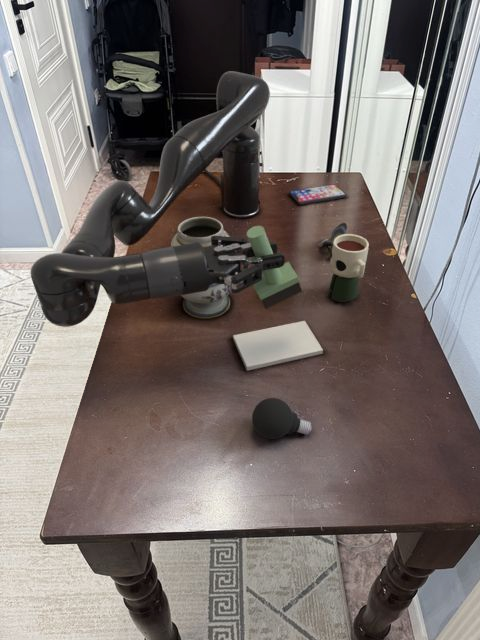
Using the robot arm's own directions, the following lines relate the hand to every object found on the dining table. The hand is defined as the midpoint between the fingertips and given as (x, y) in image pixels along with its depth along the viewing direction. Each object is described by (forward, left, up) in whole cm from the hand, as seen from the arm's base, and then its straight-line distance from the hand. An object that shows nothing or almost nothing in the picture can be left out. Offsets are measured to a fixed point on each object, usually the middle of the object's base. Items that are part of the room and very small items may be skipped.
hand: (279, 253), depth 80 cm
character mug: (0, +22, -21) cm, 31 cm away
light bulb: (+13, -15, -21) cm, 29 cm away
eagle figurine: (-12, +35, -21) cm, 43 cm away
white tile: (0, 0, -21) cm, 21 cm away
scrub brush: (0, 0, -8) cm, 8 cm away
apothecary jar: (-19, 0, -21) cm, 28 cm away
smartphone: (-32, +56, -21) cm, 68 cm away
